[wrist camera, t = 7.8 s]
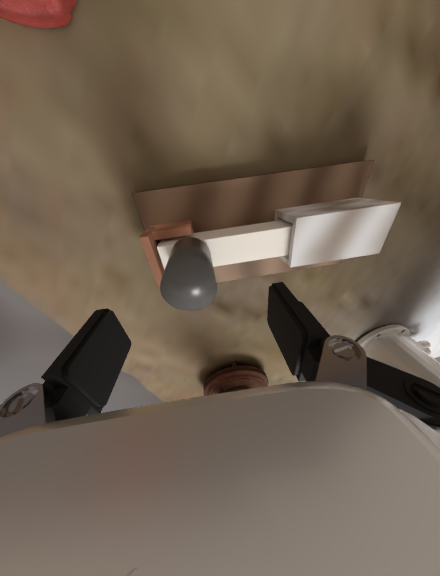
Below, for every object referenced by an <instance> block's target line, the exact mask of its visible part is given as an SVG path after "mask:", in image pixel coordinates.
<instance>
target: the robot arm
mask: <svg viewBox="0 0 440 576" xmlns="http://www.w3.org/2000/svg"><path fill="white" fill-rule="evenodd" d="M267 321H268V325H269V327H270V329H271V331H272V333H273V335H274V338H275V340H276V342H277V344H278V346H279V348H280V350H281V352H282V354H283V357H284V359H285V361H286V363H287V365H288V367H289V369H290V371H291V373H292V375H296V377H297V379H298V381H305V380H306V382H296V383H287V384H280V385H273V386H266V387H258V388H252V389H246V390H239V391H233V392H227V393H220V394H214V395H208V396H202V397H195V398H189V399H183V400H177V401H171V402H165V403H160V404H154V405H147V406H140V407H135V408H129V409H123V410H117V411H111V412H105V413H101V410H102V408H103V406H105V405H106V403H107V401H108V399H109V397H110V395H111V392H112V389H113V387H114V385H115V383H116V380H117V378H118V375H119V373H120V371H121V369H122V366H123V364H124V361H125V359H126V357H127V354H128V352H129V350H130V347H131V341H130V339H129V337H128V336H127V334H126V332H125V331H124V329H123V327H122V326H121V324H120V322H119V321H118V319H117V317H116V316H115V314H114V312H113V311H111V310H109V309H100V310H96V311H95V312H94V313H93V314H92V315H91V317H90V318H89V319H88V320H87V322H86V323H85V324H84V325H83V326H82V328H81V329H80V330H79V331H78V333H77V334H76V335H75V336H74V338H73V339H72V340H71V341H70V342H69V344H68V345H67V346H66V347H65V349H64V350H63V351H62V352H61V353H60V355H59V356H58V357H57V358H56V360H55V361H54V362H53V363H52V365H51V366H50V367H49V368H48V370H47V371H46V372H45V373H44V374H43V376H42V377H41V378H43V379H44V380H45V382H44V383H43V385H42V384H40V383H32V384H29V385H27V386H25V387H23V388H21V389H19V390H18V391H16V392H15V393H13V394H12V395H11V396H9V397H8V398H7V399H6V400H5V401H4V402H3V403H2V404H1V405H0V576H440V363H439V362H438V361H436V360H435V359H434V358H432V357H431V356H430V355H429V354H430V352H431V351H430V349H429V348H428V347H430V343H429V342H427V341H420V342H416V341H415V340H413V339H412V338H411V337H410V336H411V332H410V331H409V330H408V329H407V328H406V327H404V326H402V325H398V324H396V325H387V326H383V327H380V328H378V329H375V330H373V331H371V332H369V333H368V334H366V335H365V336H363V337H362V338H361V339H359V340H358V341H357V342H355V341H354V340H352V339H350V338H347V337H344V336H340V335H334V336H330V335H329V334H328V333H327V331H326V330H325V329H324V328H323V327H322V325H321V324H320V323H319V322H318V321H317V320H316V318H315V317H314V316H313V315H312V314H311V312H310V311H309V310H308V309H307V308H306V306H305V305H304V304H303V303H302V302H300V301H298V300H297V299H296V298H295V296H294V295H293V294H292V293H291V292H290V290H289V289H288V288H287V287H286V285H285V284H284V283H283V282H279V283H273V284H272V286H270V287H269V296H268V317H267ZM86 415H87V416H86Z"/></svg>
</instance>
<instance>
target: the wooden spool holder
mask: <svg viewBox="0 0 440 576" xmlns="http://www.w3.org/2000/svg"><path fill="white" fill-rule="evenodd" d="M266 386H268V379H267V376H266V374H265V372H264V371H262V370H261V369H259V368H257V367H253V366H237V365H236V363H235V362H232V367H229V368H225V369H223V370H220V371H218V372H216V373H214V374H213V375H211V376H210V377H209V378H208V379H207V380H206V382H205V384H204V396H208V395H214V394H220V393H227V392H233V391H239V390H246V389H252V388H258V387H266Z"/></svg>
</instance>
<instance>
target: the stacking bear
mask: <svg viewBox="0 0 440 576" xmlns="http://www.w3.org/2000/svg"><path fill="white" fill-rule="evenodd" d="M76 1H77V0H0V17H2V18H4V19H6V20H9V21H12V22H14V23H18V24H21V25H25V26H30V27H36V28H57V27H63V26H65V25H67V24H68V23H70V22H71V20H72V10H73V9H74V8H75V5H76Z"/></svg>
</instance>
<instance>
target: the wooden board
mask: <svg viewBox="0 0 440 576" xmlns="http://www.w3.org/2000/svg"><path fill="white" fill-rule="evenodd" d="M373 161H374V160H367V161H359V162H352V163H345V164H337V165H330V166H323V167H316V168H309V169H301V170H294V171H287V172H280V173H273V174H265V175H258V176H251V177H244V178H236V179H229V180H222V181H215V182H208V183H200V184H193V185H186V186H179V187H172V188H164V189H157V190H150V191H143V192H136V193H132V195H133V198H134V201H135V204H136V206H137V209H138V212H139V215H140V218H141V220H142V223H143V226H144V229H145V232H144V233H143V234H142V235H141V236H140V237H139V239H140V241H141V244H142V247H143V249H144V252H145V255H146V257H147V260H148V262H149V265H150V268H151V270H152V273H153V276H154V278H155V281H156V283H157V286H158V287H160V283H161V279H162V276H163V273H164V267H163V264H162V261H161V258H160V255H159V252H158V249H157V246H158V244H159V242H160V241H161V239H166V238H173V237H180V236H186V235H192V233H198V232H205V231H212V230H218V229H225V228H232V227H238V226H245V225H252V224H258V223H265V222H272V221H279V220H286V221H288V222H290V223H293V226H292V234H291V242H290V251H289V255H286V256H279V257H273V258H267V259H260V260H254V261H248V262H241V263H235V264H229V265H222V266H216V267H213V268H214V273H215V278H216V283H219V282H225V281H231V280H237V279H244V278H250V277H256V276H262V275H268V274H275V273H281V272H287V271H293V270H299V269H306V268H312V267H318V266H324V265H330V264H337V263H342V260H343V259H347V258H353V257H359V256H366V255H372V254H378V253H380V251H381V248H382V246H383V244H384V242H385V239H386V237H387V235H388V232H389V230H390V228H391V225H392V223H393V221H394V218H395V216H396V214H397V212H398V209H399V207H400V205H401V202H392V201H384V200H375V199H367V198H362V196H363V193H364V190H365V187H366V183H367V180H368V177H369V174H370V171H371V167H372V164H373Z"/></svg>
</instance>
